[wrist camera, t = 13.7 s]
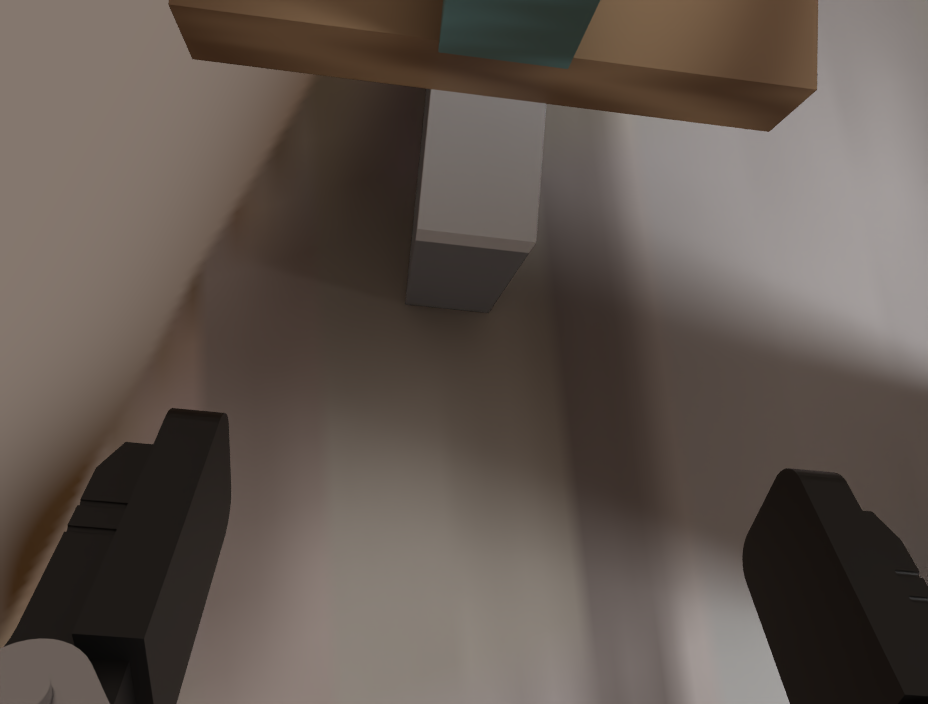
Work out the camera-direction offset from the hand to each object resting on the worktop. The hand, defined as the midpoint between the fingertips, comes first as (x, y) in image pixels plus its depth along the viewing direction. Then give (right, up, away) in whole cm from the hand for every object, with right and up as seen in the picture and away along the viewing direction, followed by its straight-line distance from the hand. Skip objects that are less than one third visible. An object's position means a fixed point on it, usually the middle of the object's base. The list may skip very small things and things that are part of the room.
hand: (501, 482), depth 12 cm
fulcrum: (-1, +8, +18) cm, 20 cm away
